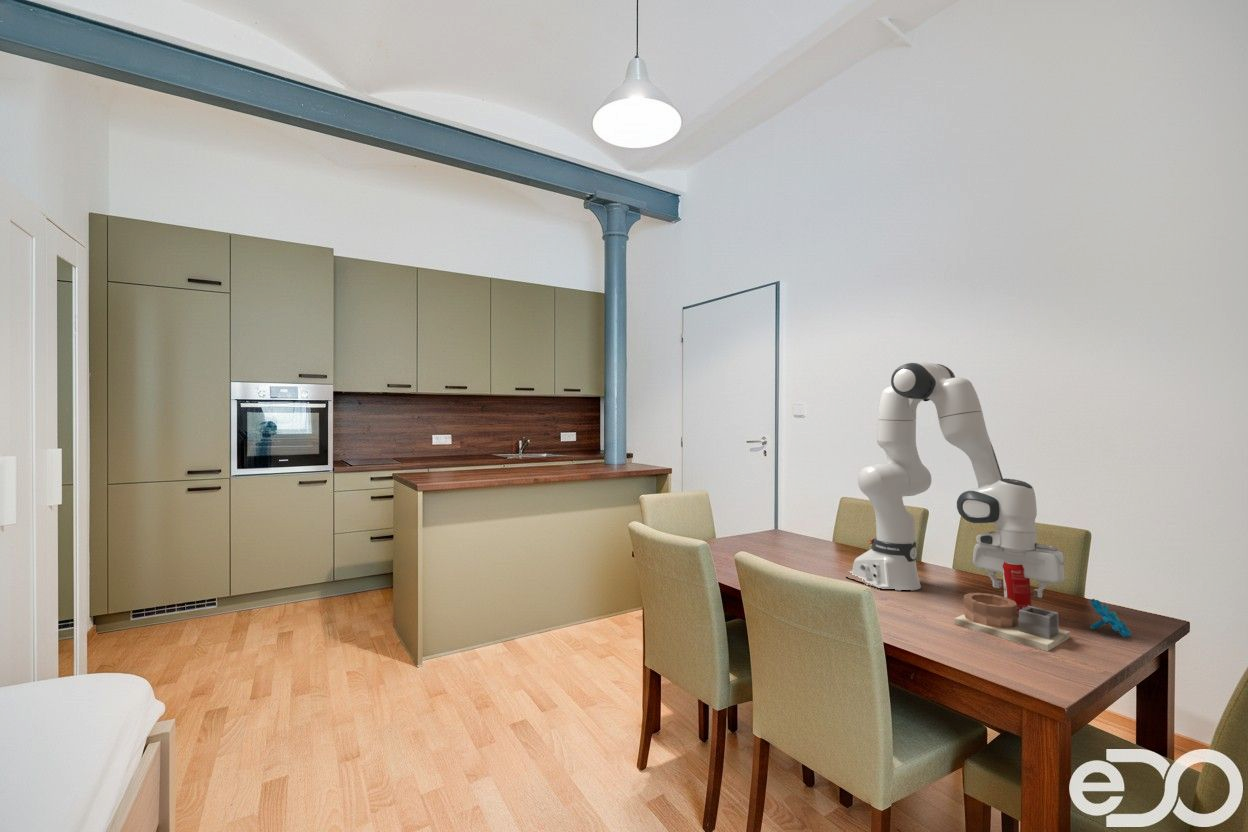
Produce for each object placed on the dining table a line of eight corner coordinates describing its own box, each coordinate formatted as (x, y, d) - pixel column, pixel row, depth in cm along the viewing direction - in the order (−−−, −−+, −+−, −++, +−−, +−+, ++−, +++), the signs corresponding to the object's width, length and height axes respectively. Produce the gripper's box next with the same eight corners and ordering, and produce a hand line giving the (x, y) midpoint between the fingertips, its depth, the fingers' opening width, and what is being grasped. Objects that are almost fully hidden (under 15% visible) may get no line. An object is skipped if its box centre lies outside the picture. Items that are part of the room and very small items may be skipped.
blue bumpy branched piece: (1129, 637, 127) (1090, 598, 133) (1105, 649, 130) (1068, 611, 136) (1138, 632, 134) (1101, 595, 140) (1115, 644, 137) (1080, 607, 143)
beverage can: (1035, 617, 144) (1034, 561, 144) (1025, 623, 140) (1024, 565, 140) (1009, 611, 149) (1008, 556, 149) (999, 616, 145) (998, 560, 145)
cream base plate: (954, 624, 140) (954, 598, 140) (978, 613, 147) (978, 589, 148) (1047, 651, 123) (1047, 622, 123) (1069, 637, 131) (1069, 610, 131)
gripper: (1068, 546, 138) (1069, 600, 138) (980, 532, 155) (980, 580, 155) (1059, 549, 134) (1059, 605, 134) (969, 535, 151) (970, 584, 151)
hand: (1016, 592), depth 145 cm, fingers open, 8 cm apart
